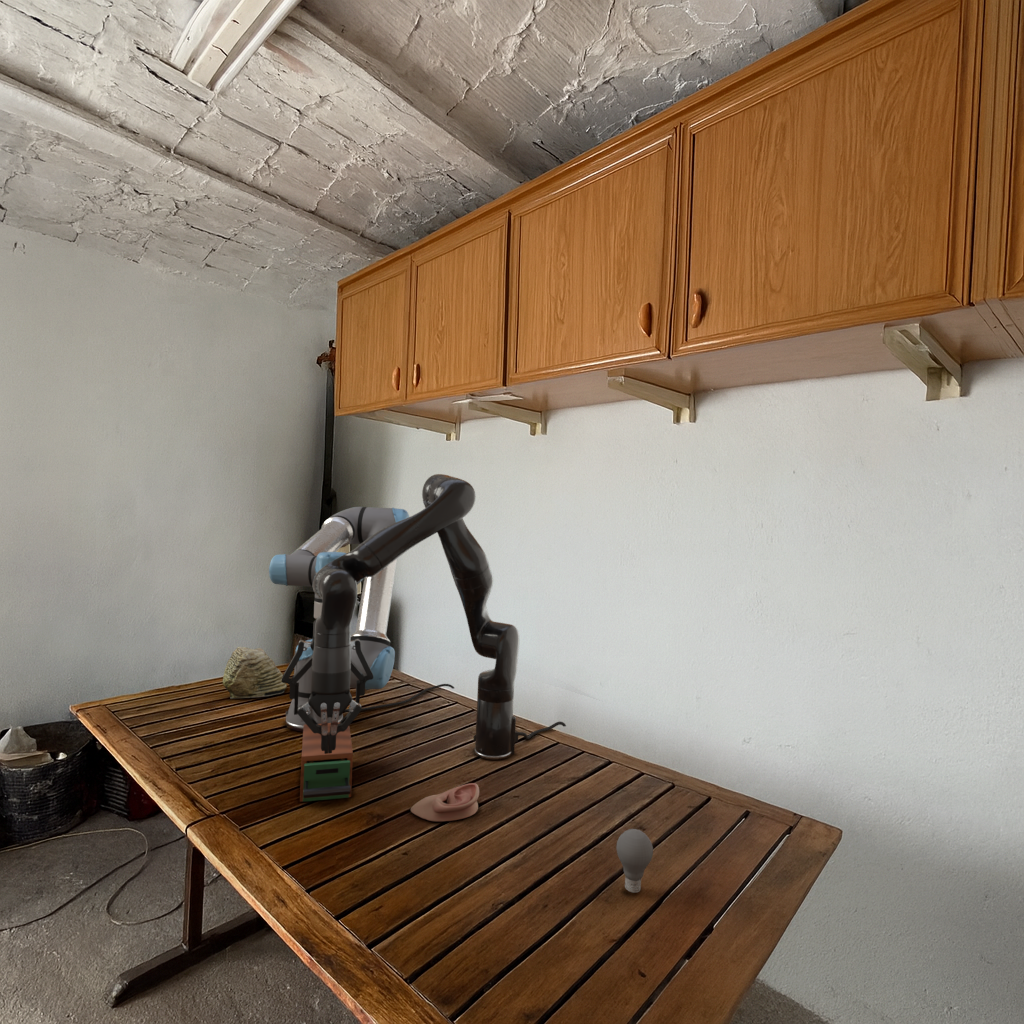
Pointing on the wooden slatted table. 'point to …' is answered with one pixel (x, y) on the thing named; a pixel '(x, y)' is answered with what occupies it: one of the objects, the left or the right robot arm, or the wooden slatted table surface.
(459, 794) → the anatomical model
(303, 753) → the cabinet
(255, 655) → the fossil
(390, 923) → the wooden slatted table surface
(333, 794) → the drawer
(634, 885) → the light bulb
